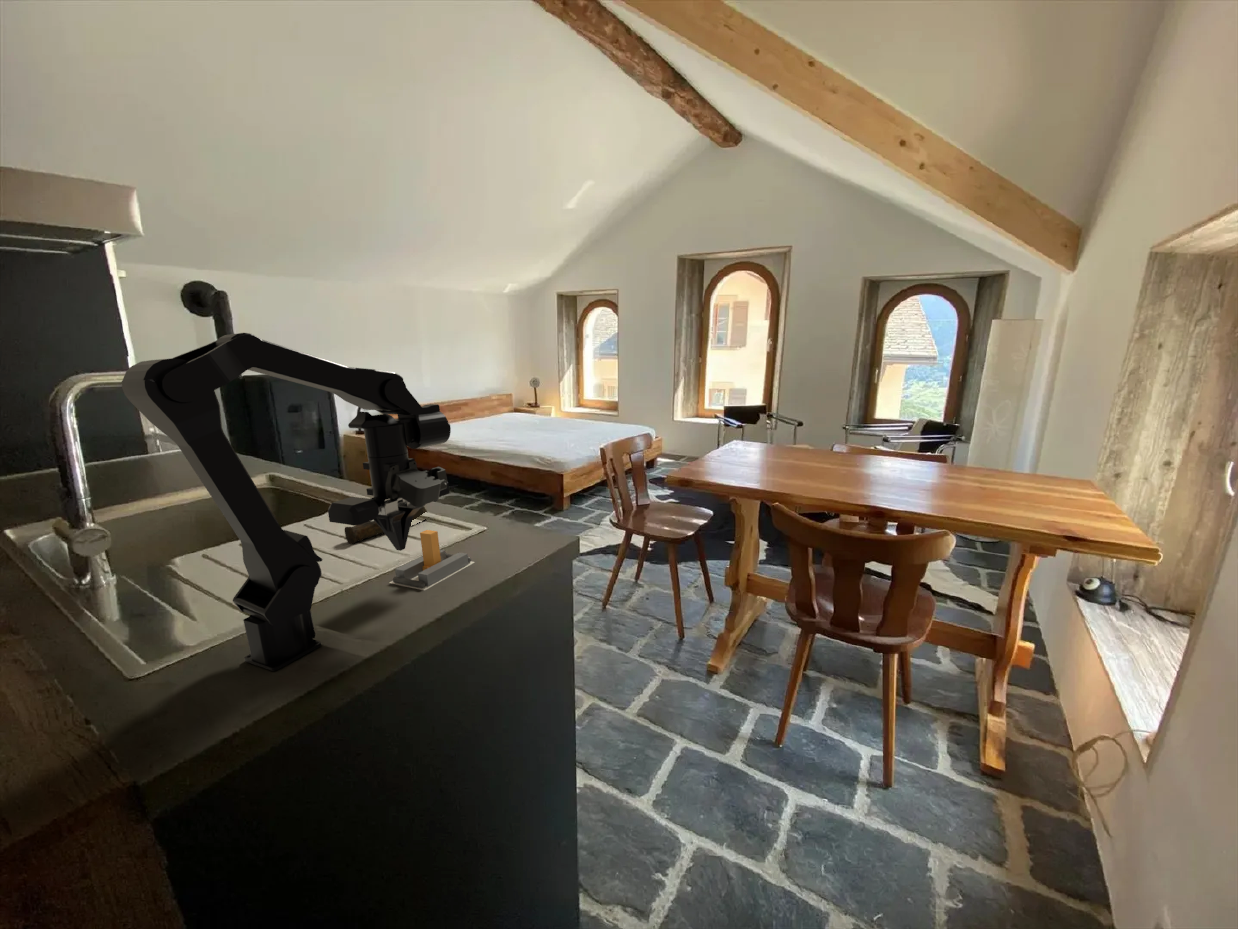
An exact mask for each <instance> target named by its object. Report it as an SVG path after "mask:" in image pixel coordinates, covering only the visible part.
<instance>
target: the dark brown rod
mask: <svg viewBox="0 0 1238 929" xmlns="http://www.w3.org/2000/svg"><path fill="white" fill-rule="evenodd" d="M425 512H427V513H428V511H427V509H426V508H425V506H424V507H422V508H420V509H419V510H418V511H417V512H416V513H415V515H414V516H413V519H412V520H414V519H416V518H417V517H419V516H420V515H422V514H423V513H425ZM380 534H385V533H384V532H383V530H382V529H381V528H380V527H379V525H378V524H377V523H376V522H375V521H374V520H372V521H369V522H366V523H363V524H360V525H352V526H345V527H344V536H345V539H346V541H347V543H348V544H350V545H354V544H356V543H357V542H362V541H363V540H365V539H369V538H371V537H375V536H377V535H380Z"/></svg>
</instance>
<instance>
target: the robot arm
mask: <svg viewBox="0 0 1238 929" xmlns="http://www.w3.org/2000/svg"><path fill="white" fill-rule="evenodd" d="M246 371H252V372H254V373H258V374H262V375H266V376H270V377H273V378H277V379H281V380H284V381H289V382H293V383H296V384H299V385H304V386H307V387H311V388H315V389H319V390H322V391H326V392H329V393H331V394H333V395H335V396H337V397H339V398H340V399H341V400H343V401H345V402H347V403H349V404H351V405H354V406H356V407H358V408H360V409H362V410H364V411H357V414H356V416H355V417H353V419H352V420H351V421H350V422H349V423H348V428H349V429H358V430H359V429H361V430H363V433H364V440H365V447H366V448H365V449H366V454H367V461H365V462H362V467H363V468H362V470H368V471H369V476H370V483H371V487H368V488H366V490H365V491H366V495H367V496H373V497H370V498H367V497H356V496H351V497H347V498H344V499H340V500H336V501H334V502H331V504H330V505H329V507H328V509H327V514H328V520H329V523H334V524H335V523H336V524H341V525H342V524H343V525H348V526H356V525H360V524H363V523H366V522H369V521H375V522H376V523H377V524H378V525H379V527H380V528H381V529H382V530H383V532H384V533H383V534H384V535H385V536H386V537H387V539H388V541H390V543H391V544H392V546H393V547H394V549H395V550H396V551H398V552H399V551H400V552H402V551H403V550H405V549H406V547H407V546H406V545H407V542H408V537H409V532H410V530H411V527H412V526H411V522H412V519H413V516H414V515H415V513H416V512H417V511H418V510H419V509H420V508H422V507H425V506H426V505H428V504H430V503H433V502H434V503H435V502H438V501H439V498H440V497H442V496H443V497H444V496H446V495H449V494H450V487H449V486H450V485H449V482H448V476H447V471H446V469H445V468H443V467H441V466H436V467H431V468H430V469H429V470H423V471H421V470H419V469H418V466H417V461H415V458H413V457H412V458H409V451H408V448H410V449H411V450H416V449H417V450H418V449H421V448H426V447H430V446H431V447H432V446H437V445H441V444H445V443H447V442H448V441H449V439H450V437H451V432H452V431H451V424H450V423H449V420H448V419H447V417H446V415H445V414H444V413H443V412H442V411H440V410H441V408H440V405H439V403H435V404H433V403H432V404H431V403H430V404H424V405H422V404H420V403H419V401H418V400H417V399H416V397H414V396H413V394H412V393H411V392H410V390H408V388H407V385H406V383H405V381H404V378H403V376H401V375H400V374H398V373H397V372H394V371H390V370H389V371H387V370H381V369H374V368H364V367H363V368H362V367H353V366H352V367H351V366H346V365H343V364H341V363H338V362H337V363H336V362H334V361H331V360H327V359H324V358H322V357H319V356H316V355H312V354H308V353H306V352H303V351H299V350H297V349H293V348H291V347H288V346H285V345H284V346H283V345H280V344H278V343H275V342H271V341H269V340H268V341H267V340H265V339H261V338H260V337H258V336H256V335H255V334H252V333H250V332H249V333H248V332H240V333H238V332H237V333H232V334H225V335H222V336H221V337H219V338H218V339H217V340H214V341H213V342H210V343H207V344H205V345H203V346H200V347H197V348H194V349H192V350H189V351H187V352H184V353H181V354H179V355H176V356H174V357H172V358H161V359H151V360H143V361H139V362H137V363H135V364H133V365H132V366H130V367H129V368H128V369H127V370H126V372H125V374H124V376H123V378H122V380H121V388H122V391H123V393H124V396H125V397H126V399H128V401H129V402H130V403H131V404H132V405H133V406H134V407H135V408H136V409H137V411H139V412H140V413H141V414H142V416H144V417H145V418H146V419H147V421H149V422H150V423H151V424H152V425H153V426H155V427H156V428H157V429H158V430H160V432H162V433H163V434H164V435H166V437H168V438H169V439H170V440H171V441H173V442H174V444H176V445H177V447H178V448H179V449H180V451H181V453H182V455H183V456H184V457H185V459H186V461H187V462H188V463H189V465H190V467H191V468H192V469H193V471H194V472H195V474H196V475H197V477H198V479H199V480H200V481H201V483H202V485H203V486H204V488H205V489H206V491H207V492H208V494H209V495H210V496H211V499H213V501H214V503H215V504H216V506H217V508H218V509H219V510H220V511H221V514H222V515H223V516H224V518H225V519H226V521H227V522H228V524H229V525H230V527H231V529H232V531H233V532H234V533H235V535H236V536H237V538H238V539H239V541H240V543H241V548H242V550H241V551H242V560H243V562H242V563H243V564H244V567H245V569H246V572H247V574H248V577H247V579H246V580H245V581H244V583H243V584H242V586H241V587H240V588H239V590H238V591H237V592H236V593H235V595H234V596H233V598H232V603H233V604H234V605H235V606H236V607H237V609H238V610H239V611H240V612H243V613H246V614H248V615H249V616H248V617H245V618H243V625H244V629H245V634H246V639H247V643H248V649H249V652H250V654H247V655H246V656H244V659H243V660H244V662H246V663H249V664H252V665H255V666H257V667H260V668H263V669H266V670H268V671H271V672H275V671H278V670H280V669H282V668H283V667H285V666H287V665H289V664H291V663H293V662H295V661H296V660H298V659H299V658H302V657H303V656H305V655H307V654H309V653H310V652H313V651H314V650H316V649H318V648H320V647H321V646H322V641H320V640H317V639H315V638H316V630H315V626H314V620H313V619H314V618H313V616H312V610H311V609H312V606H313V602H314V597H315V596H314V595H315V589H316V587H317V586H318V584H319V581H320V578H321V577H322V576H323V575H322V569H321V566H320V563H319V562H323V557H320V556H318V554H317V553H316V552H315V550H314V547H313V545H312V541H311V540H310V538H309V536H308V535H305V534H300V533H297V532H294V531H290V530H286V529H283V528H282V527H281V525H280V523H279V522H278V520H277V518H276V517H275V515H274V513H273V512H272V511H271V508H270V507H269V505H268V503H267V502H266V500H265V499H264V496H263V495H262V493H261V492H260V490H259V489H258V486H257V485H256V484H255V482H254V481H253V479H252V476H250V474H249V472H248V471H247V469H246V467H245V466H244V464H243V462H242V461H241V459H240V458H239V455H238V453H237V452H236V451H235V449H234V447H233V446H232V444H231V442H230V440H229V439H228V437H227V436H226V434H225V433H224V430H223V424H222V422H223V421H222V413H221V405H220V403H219V400H218V397H217V394H216V390H218V389H220V388H222V387H224V386H225V385H227V384H229V383H231V382H233V381H234V380H235V379H237V378H238V377H239V376H241V375H242V374H244V373H245V372H246ZM365 410H368V411H376V412H377V413H380V414H375V415H372V414H371V413H370V412H368V411H365ZM393 415H397V418H394V417H393ZM410 526H411V527H410Z"/></svg>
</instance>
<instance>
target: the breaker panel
mask: <svg viewBox="0 0 1238 929" xmlns="http://www.w3.org/2000/svg"><path fill="white" fill-rule="evenodd" d="M440 556H441V562H439V563H437V564H435V565H433V566H431V567H429V568H427V569H425V570H423V566H424V561H423V555H421V556H419V557H417V558H415V559H413V560H411V561H409V562H407V563H404V564H403V565H400V566H398V567H396V568H394V571H395V576H394V577H393V579H392V581H390V582H388V583H389V584H391V585H397V586H401V587H407V588H412V589H417V590H421V591H426V590H428V589H430V588H432V587H433V586H435V585H437V584H440V582H443V581H444V580H446V579H448V578H450V577H451V576H453V575H455V574H456V573H459V572H460V571H462V570H464V569H465V568H468V567H469V566H471V565H473V564H475V563H476V562H475V561H472V558H471V557H470V556H469V555H468V553H466V552H456V553H455V554H452V553H447V552H446V550H445V549H440Z"/></svg>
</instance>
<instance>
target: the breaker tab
mask: <svg viewBox="0 0 1238 929" xmlns="http://www.w3.org/2000/svg"><path fill="white" fill-rule="evenodd" d="M419 536H420V543H421V544H420V545H421V552H422V556H423V561H424V566H423V570H425V569H427V568H429V567H431V566H433V565H435V564H437V563H439V562H441V556H440V550H441V549H440V548H441V547H440V541H439V540H440V539H439V533H438V530H430V529H426V530H424V531H421V532H419Z"/></svg>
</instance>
